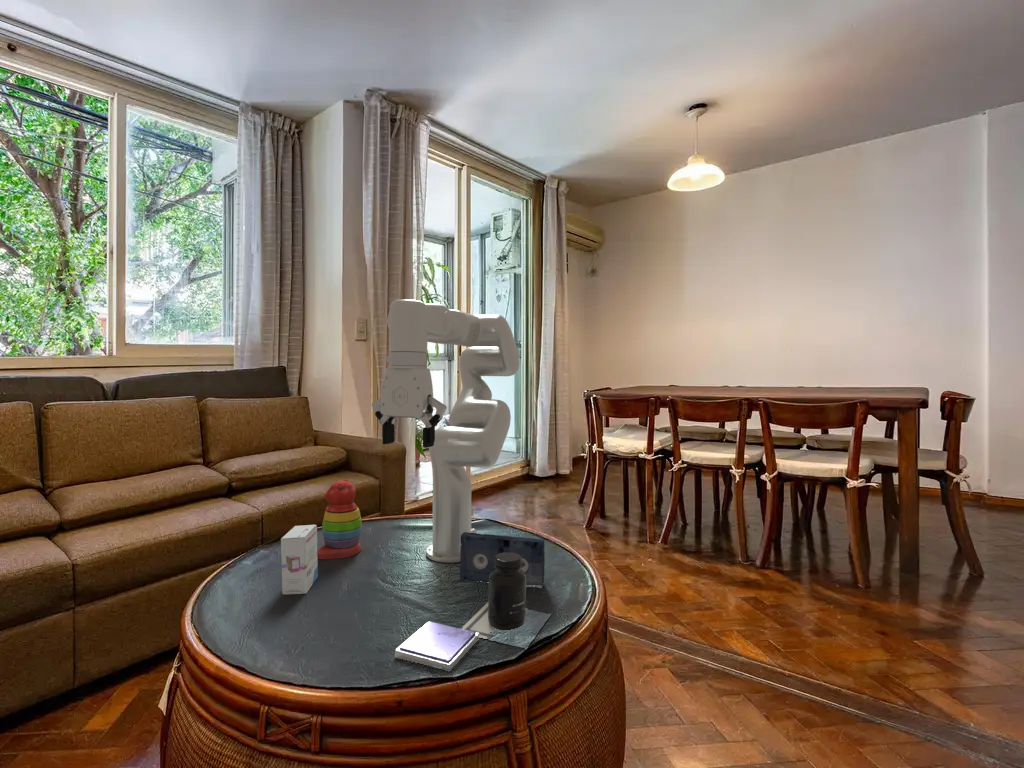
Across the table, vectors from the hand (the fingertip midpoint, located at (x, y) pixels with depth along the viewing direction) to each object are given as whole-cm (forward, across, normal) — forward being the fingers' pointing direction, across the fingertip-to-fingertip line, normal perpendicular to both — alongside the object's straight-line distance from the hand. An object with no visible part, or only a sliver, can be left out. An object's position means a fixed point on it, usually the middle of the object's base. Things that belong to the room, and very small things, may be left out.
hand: (408, 445), depth 104 cm
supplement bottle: (+30, +24, -4) cm, 39 cm away
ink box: (+31, -22, -7) cm, 38 cm away
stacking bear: (+31, -28, +12) cm, 43 cm away
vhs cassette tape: (+31, +16, +12) cm, 37 cm away
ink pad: (+30, +17, -16) cm, 38 cm away
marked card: (+30, +24, -4) cm, 39 cm away
